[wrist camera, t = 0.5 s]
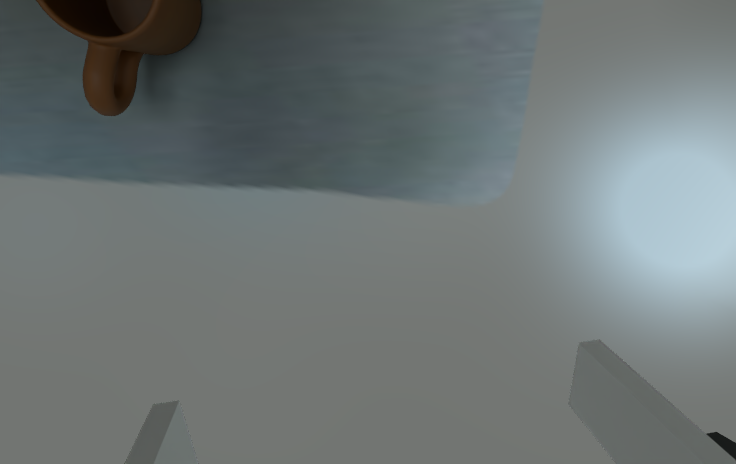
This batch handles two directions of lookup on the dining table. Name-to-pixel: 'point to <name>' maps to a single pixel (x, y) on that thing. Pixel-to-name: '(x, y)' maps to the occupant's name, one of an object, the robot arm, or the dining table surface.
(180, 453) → the robot arm
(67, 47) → the dining table surface
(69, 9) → the mug
